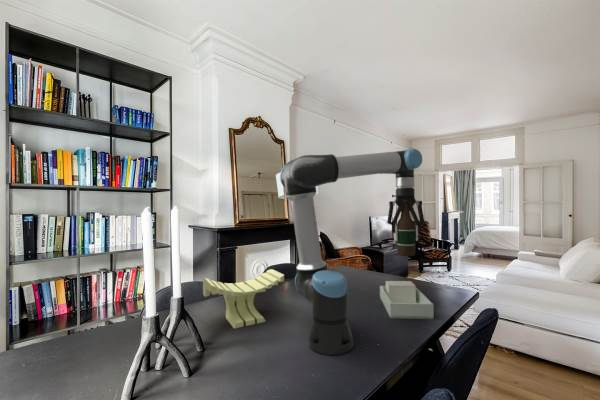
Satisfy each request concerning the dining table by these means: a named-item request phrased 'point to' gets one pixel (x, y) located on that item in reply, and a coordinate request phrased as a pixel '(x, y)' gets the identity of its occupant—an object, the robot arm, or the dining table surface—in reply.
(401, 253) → the beer bottle
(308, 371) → the dining table surface
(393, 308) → the tote
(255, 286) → the slatted curved stool
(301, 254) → the robot arm
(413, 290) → the off-white rectangular block
